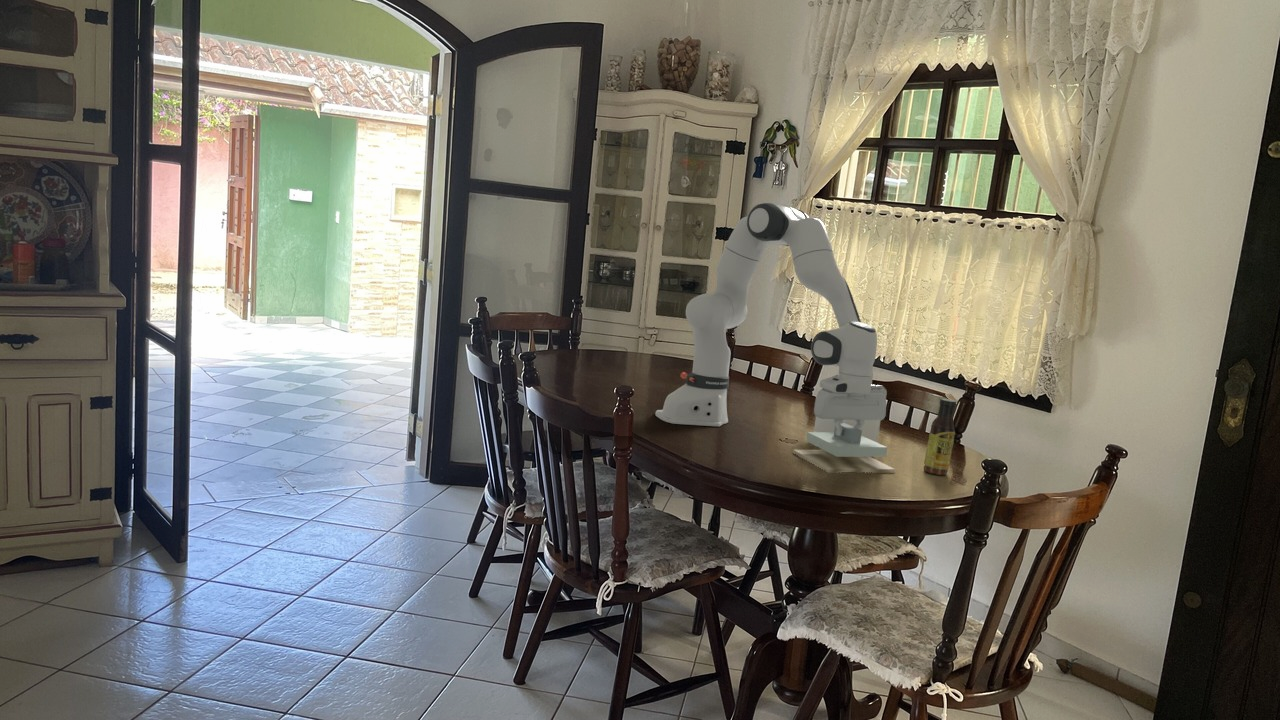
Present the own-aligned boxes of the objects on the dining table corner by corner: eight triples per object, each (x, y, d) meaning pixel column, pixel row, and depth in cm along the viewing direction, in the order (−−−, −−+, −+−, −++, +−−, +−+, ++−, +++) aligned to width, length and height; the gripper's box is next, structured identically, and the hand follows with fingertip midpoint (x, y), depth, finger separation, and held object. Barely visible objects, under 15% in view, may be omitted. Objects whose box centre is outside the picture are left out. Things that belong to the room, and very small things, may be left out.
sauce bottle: (934, 476, 221) (946, 402, 218) (917, 469, 227) (929, 397, 224) (953, 476, 224) (965, 402, 221) (936, 468, 230) (948, 397, 226)
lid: (836, 456, 216) (839, 433, 215) (806, 441, 230) (809, 419, 229) (886, 456, 221) (889, 434, 220) (853, 441, 235) (856, 420, 234)
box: (836, 450, 238) (843, 402, 236) (812, 438, 250) (819, 392, 248) (875, 451, 243) (883, 403, 241) (850, 439, 255) (857, 393, 253)
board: (828, 473, 214) (828, 469, 214) (793, 453, 231) (793, 449, 231) (894, 472, 221) (895, 469, 221) (855, 453, 238) (856, 450, 238)
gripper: (880, 383, 229) (873, 432, 231) (814, 380, 222) (807, 432, 224) (894, 387, 223) (887, 438, 225) (827, 385, 216) (820, 438, 218)
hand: (847, 435), depth 225 cm, fingers closed on lid, 3 cm apart
